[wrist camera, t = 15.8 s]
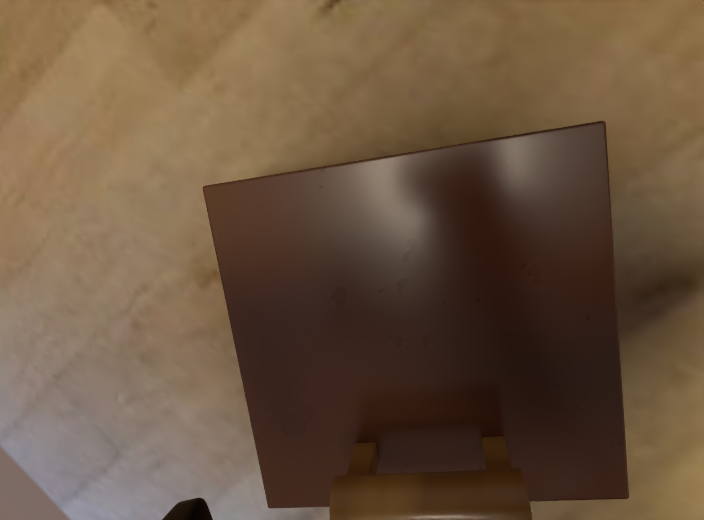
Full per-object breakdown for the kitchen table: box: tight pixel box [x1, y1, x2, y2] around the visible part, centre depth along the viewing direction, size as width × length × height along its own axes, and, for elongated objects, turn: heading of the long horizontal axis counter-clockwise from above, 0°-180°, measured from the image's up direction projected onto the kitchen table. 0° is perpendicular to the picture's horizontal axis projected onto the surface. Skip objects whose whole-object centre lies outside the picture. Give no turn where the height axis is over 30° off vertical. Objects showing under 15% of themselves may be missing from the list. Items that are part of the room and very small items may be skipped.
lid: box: [203, 121, 629, 520], centre depth 13 cm, size 11×12×4 cm
